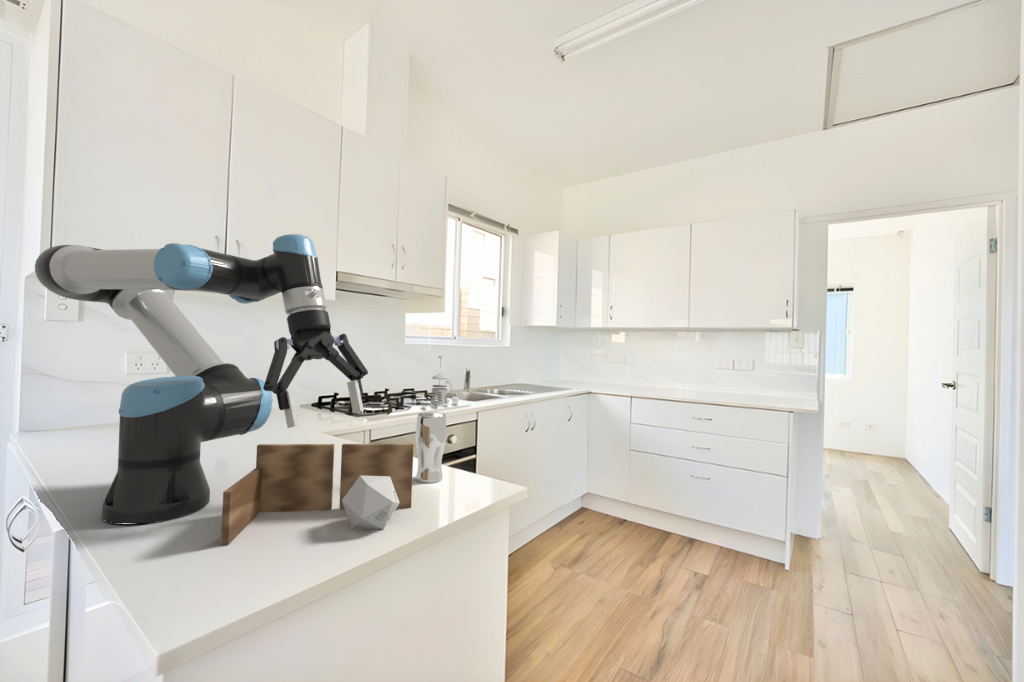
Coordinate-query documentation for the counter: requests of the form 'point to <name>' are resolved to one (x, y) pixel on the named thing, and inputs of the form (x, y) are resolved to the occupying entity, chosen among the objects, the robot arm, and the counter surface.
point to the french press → (443, 390)
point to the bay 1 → (280, 485)
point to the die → (370, 502)
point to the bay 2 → (378, 467)
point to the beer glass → (430, 446)
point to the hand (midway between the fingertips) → (327, 419)
